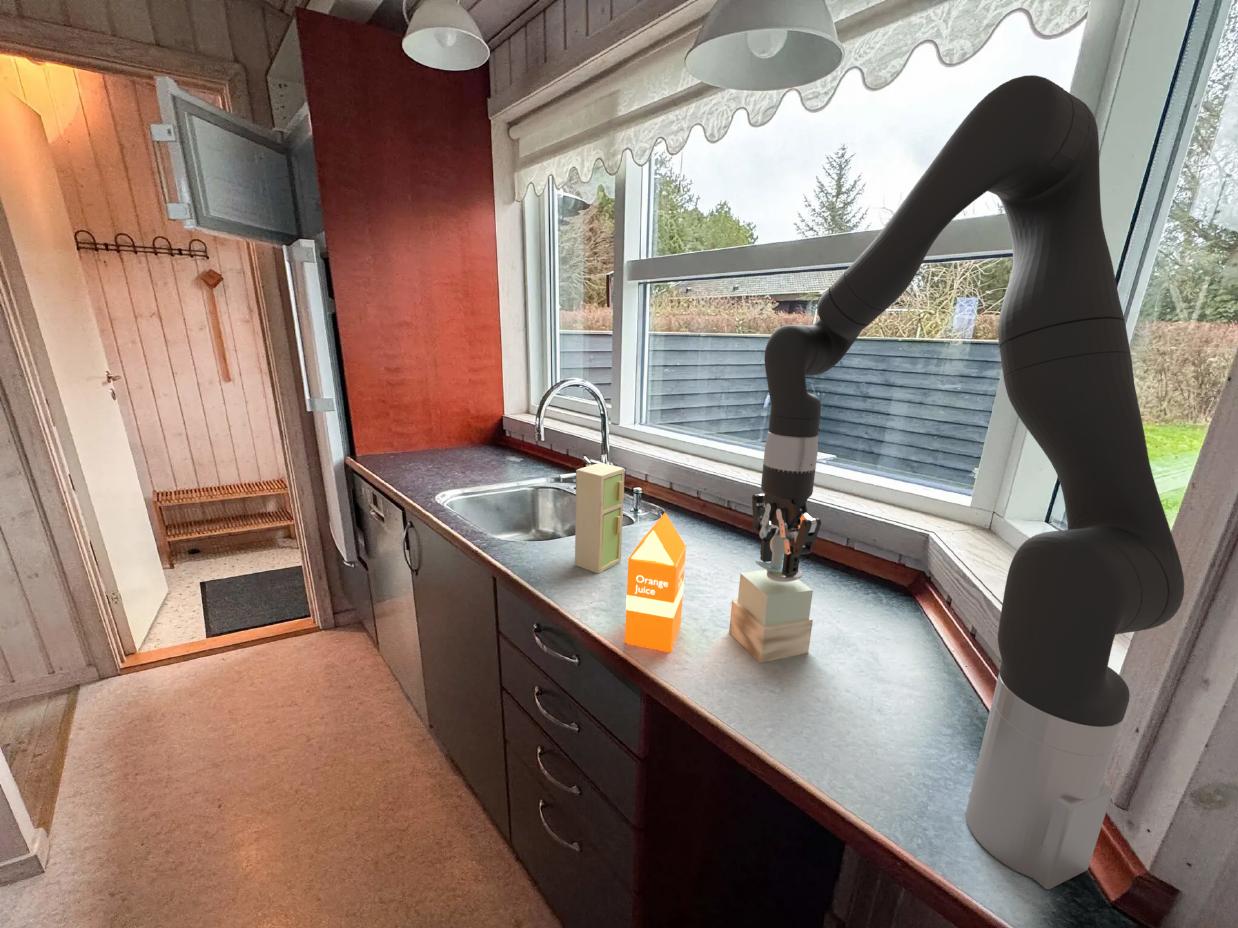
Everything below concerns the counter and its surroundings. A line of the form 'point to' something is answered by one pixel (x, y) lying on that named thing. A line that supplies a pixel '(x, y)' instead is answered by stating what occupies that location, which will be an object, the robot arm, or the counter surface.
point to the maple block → (769, 635)
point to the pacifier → (777, 562)
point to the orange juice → (655, 588)
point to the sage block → (774, 598)
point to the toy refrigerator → (599, 516)
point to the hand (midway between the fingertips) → (777, 567)
